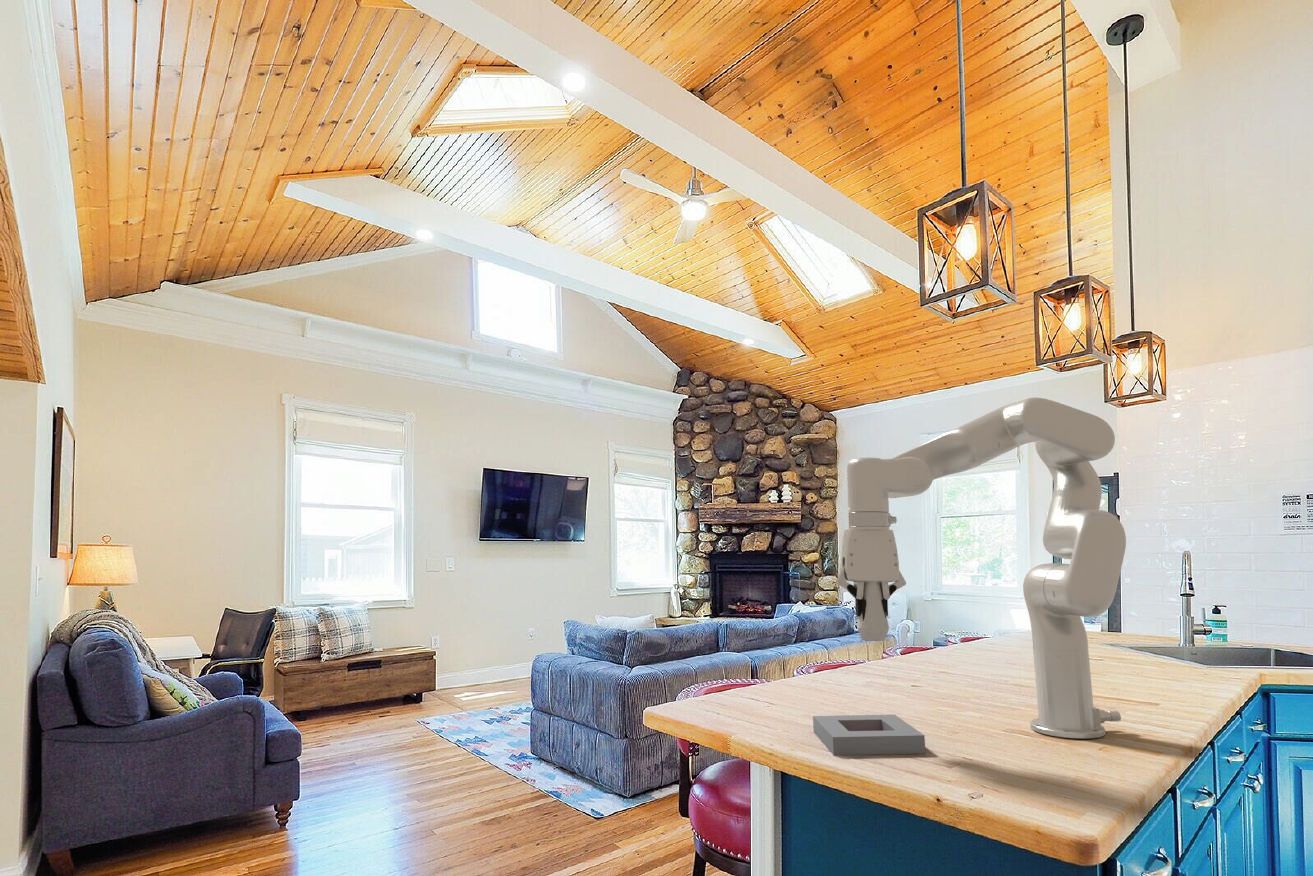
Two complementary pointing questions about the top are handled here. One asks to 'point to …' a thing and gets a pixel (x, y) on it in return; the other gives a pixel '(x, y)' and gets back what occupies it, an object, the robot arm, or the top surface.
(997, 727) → the top surface
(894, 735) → the socket board
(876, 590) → the white bulbous peg
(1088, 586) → the robot arm
